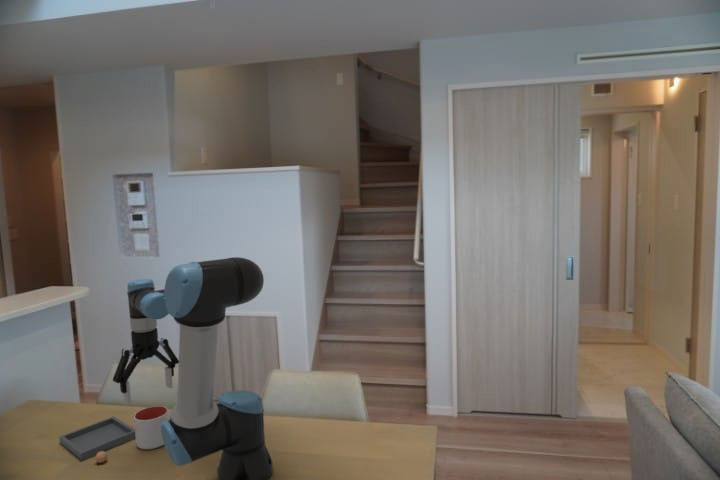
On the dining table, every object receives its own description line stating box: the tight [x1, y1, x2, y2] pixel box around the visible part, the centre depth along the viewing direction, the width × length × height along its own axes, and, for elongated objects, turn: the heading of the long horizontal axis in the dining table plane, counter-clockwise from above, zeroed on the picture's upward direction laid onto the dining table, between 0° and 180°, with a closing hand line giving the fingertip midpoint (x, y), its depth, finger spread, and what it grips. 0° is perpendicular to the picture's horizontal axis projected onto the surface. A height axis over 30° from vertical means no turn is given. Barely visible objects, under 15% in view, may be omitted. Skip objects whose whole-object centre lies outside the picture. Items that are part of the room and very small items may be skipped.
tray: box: [58, 416, 136, 462], centre depth 156 cm, size 17×17×2 cm
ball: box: [94, 451, 108, 464], centre depth 143 cm, size 3×3×3 cm
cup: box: [133, 405, 170, 450], centre depth 153 cm, size 10×10×10 cm
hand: (149, 394), depth 152 cm, fingers open, 13 cm apart
